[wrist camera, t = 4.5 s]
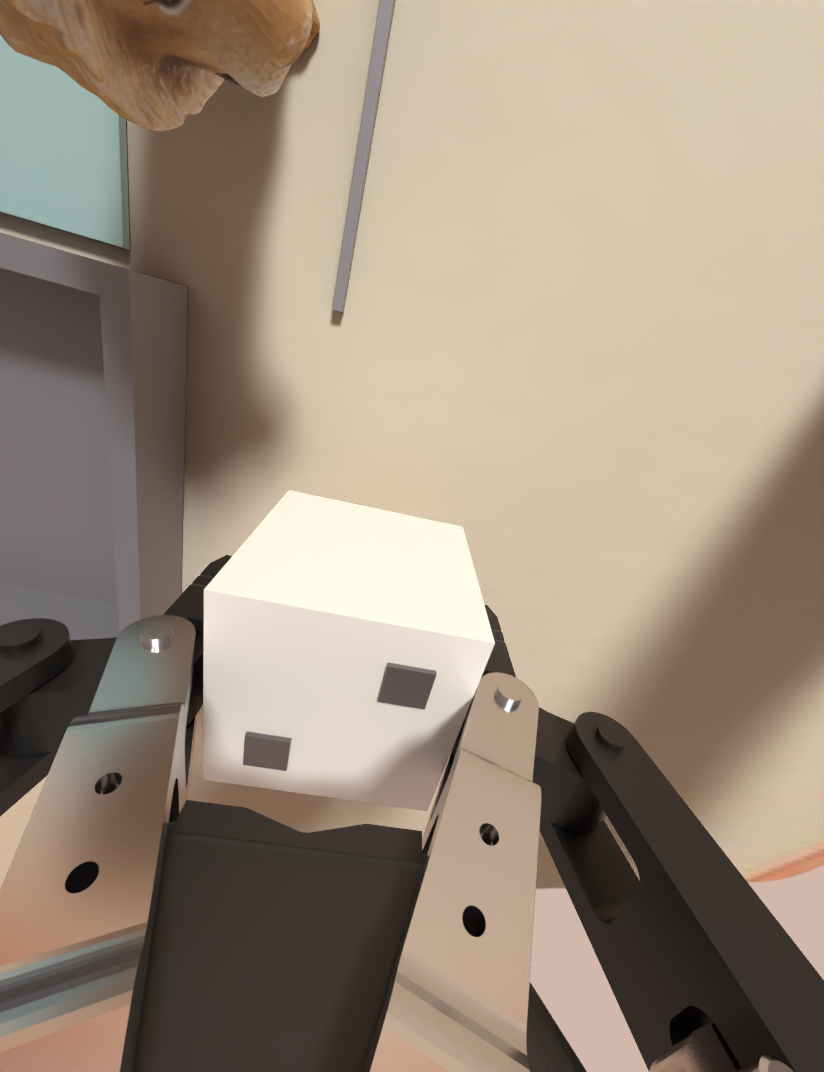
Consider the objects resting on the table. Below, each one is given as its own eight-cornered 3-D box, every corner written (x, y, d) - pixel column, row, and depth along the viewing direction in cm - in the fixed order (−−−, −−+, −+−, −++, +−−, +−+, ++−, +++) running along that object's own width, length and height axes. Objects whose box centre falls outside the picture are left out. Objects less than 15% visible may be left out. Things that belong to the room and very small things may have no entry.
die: (462, 526, 12) (496, 647, 7) (421, 659, 14) (426, 818, 9) (285, 489, 11) (194, 591, 6) (271, 632, 13) (195, 786, 9)
